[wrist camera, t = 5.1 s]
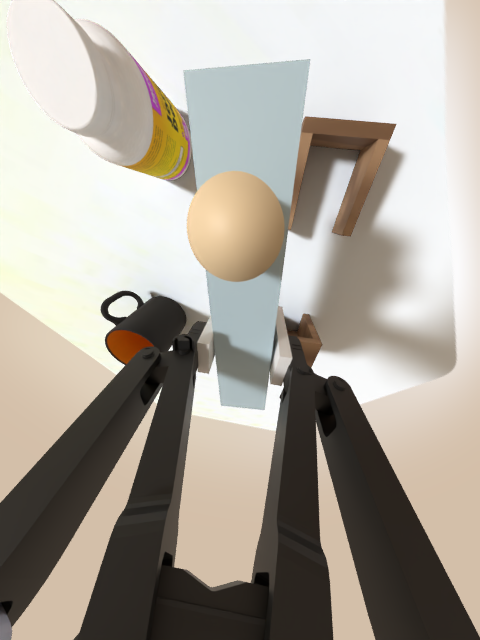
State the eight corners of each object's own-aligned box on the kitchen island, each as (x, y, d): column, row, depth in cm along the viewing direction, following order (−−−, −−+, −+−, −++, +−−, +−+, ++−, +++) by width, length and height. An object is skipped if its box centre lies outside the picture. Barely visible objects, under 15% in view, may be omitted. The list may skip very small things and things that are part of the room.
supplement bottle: (205, 148, 20) (137, 76, 9) (171, 194, 23) (89, 180, 12) (158, 80, 17) (-8, -127, 7) (127, 141, 20) (-25, 63, 9)
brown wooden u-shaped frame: (298, 131, 18) (305, 116, 15) (374, 138, 18) (396, 124, 15) (280, 226, 23) (282, 228, 20) (339, 232, 23) (350, 236, 20)
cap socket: (264, 308, 30) (264, 336, 24) (308, 314, 30) (322, 344, 23) (259, 330, 33) (259, 361, 26) (300, 336, 33) (310, 368, 26)
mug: (148, 270, 29) (99, 296, 20) (194, 321, 34) (171, 359, 25) (121, 294, 32) (69, 325, 23) (167, 337, 37) (138, 376, 28)
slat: (221, 138, 11) (117, -50, 3) (286, 135, 10) (356, -89, 3) (231, 358, 21) (213, 442, 13) (263, 361, 20) (265, 448, 13)
